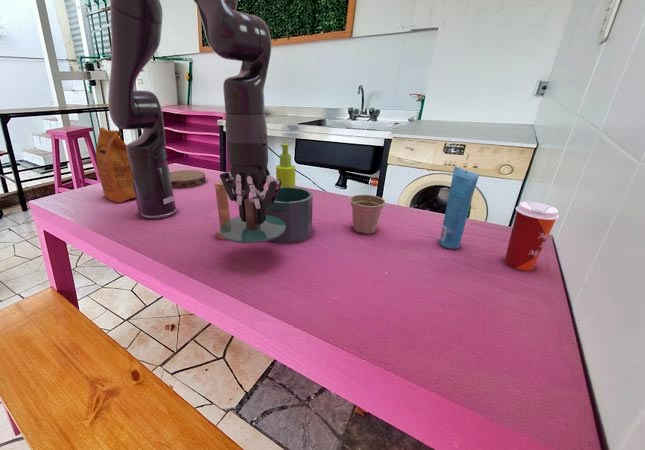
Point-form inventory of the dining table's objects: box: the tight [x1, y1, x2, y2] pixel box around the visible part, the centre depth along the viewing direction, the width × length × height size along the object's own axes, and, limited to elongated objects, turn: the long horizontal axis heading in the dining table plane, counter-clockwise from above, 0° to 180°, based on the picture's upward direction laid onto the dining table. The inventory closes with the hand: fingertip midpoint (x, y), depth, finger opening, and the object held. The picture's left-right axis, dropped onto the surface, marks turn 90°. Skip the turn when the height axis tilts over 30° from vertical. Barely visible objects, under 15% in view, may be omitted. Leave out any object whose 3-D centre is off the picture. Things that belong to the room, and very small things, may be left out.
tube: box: [438, 166, 480, 250], centre depth 72 cm, size 7×5×19 cm, turn 26°
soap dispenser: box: [275, 142, 296, 187], centre depth 94 cm, size 6×7×20 cm
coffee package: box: [95, 126, 136, 203], centre depth 96 cm, size 10×12×22 cm
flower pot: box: [349, 194, 386, 235], centre depth 81 cm, size 9×9×9 cm
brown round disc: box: [169, 169, 207, 190], centre depth 117 cm, size 16×16×3 cm
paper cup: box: [504, 201, 560, 272], centre depth 66 cm, size 8×8×14 cm
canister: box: [265, 186, 314, 244], centre depth 78 cm, size 13×13×11 cm
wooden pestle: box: [214, 180, 231, 240], centre depth 74 cm, size 4×4×14 cm
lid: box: [219, 197, 286, 244], centre depth 63 cm, size 14×14×7 cm
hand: (253, 221), depth 64 cm, fingers closed on lid, 3 cm apart
